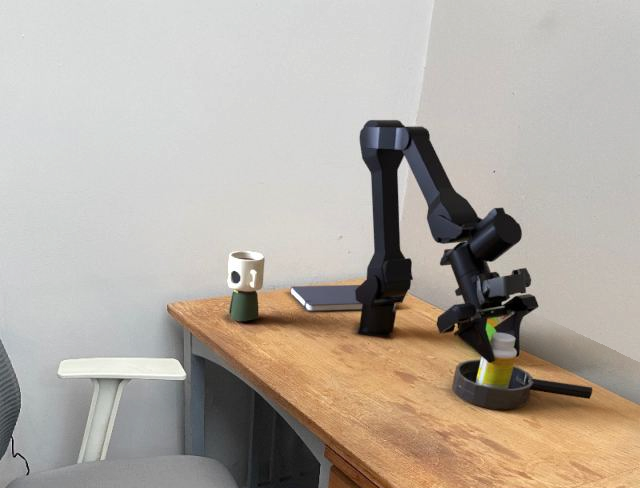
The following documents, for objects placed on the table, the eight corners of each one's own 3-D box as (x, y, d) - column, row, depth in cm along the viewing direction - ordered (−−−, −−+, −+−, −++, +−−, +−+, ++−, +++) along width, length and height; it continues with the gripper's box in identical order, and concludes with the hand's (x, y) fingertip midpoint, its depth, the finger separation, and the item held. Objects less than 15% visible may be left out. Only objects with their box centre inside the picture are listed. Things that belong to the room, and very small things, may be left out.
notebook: (375, 290, 184) (289, 293, 178) (376, 284, 183) (290, 286, 177) (397, 308, 174) (308, 311, 168) (398, 301, 173) (308, 304, 167)
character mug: (218, 311, 165) (220, 248, 158) (249, 309, 167) (253, 247, 160) (236, 329, 156) (240, 264, 149) (269, 326, 159) (274, 262, 152)
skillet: (450, 403, 133) (455, 383, 131) (452, 374, 144) (456, 355, 142) (529, 415, 131) (535, 395, 129) (525, 385, 142) (531, 366, 140)
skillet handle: (529, 391, 134) (532, 380, 133) (528, 387, 136) (531, 376, 135) (589, 400, 133) (592, 389, 132) (588, 396, 134) (591, 385, 133)
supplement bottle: (512, 397, 136) (527, 341, 130) (485, 400, 134) (499, 343, 128) (494, 384, 140) (507, 329, 134) (467, 387, 138) (480, 331, 133)
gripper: (462, 255, 123) (496, 346, 121) (545, 246, 131) (577, 331, 129) (421, 290, 133) (452, 374, 131) (500, 279, 141) (530, 359, 139)
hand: (504, 359), depth 132 cm, fingers closed on supplement bottle, 5 cm apart
